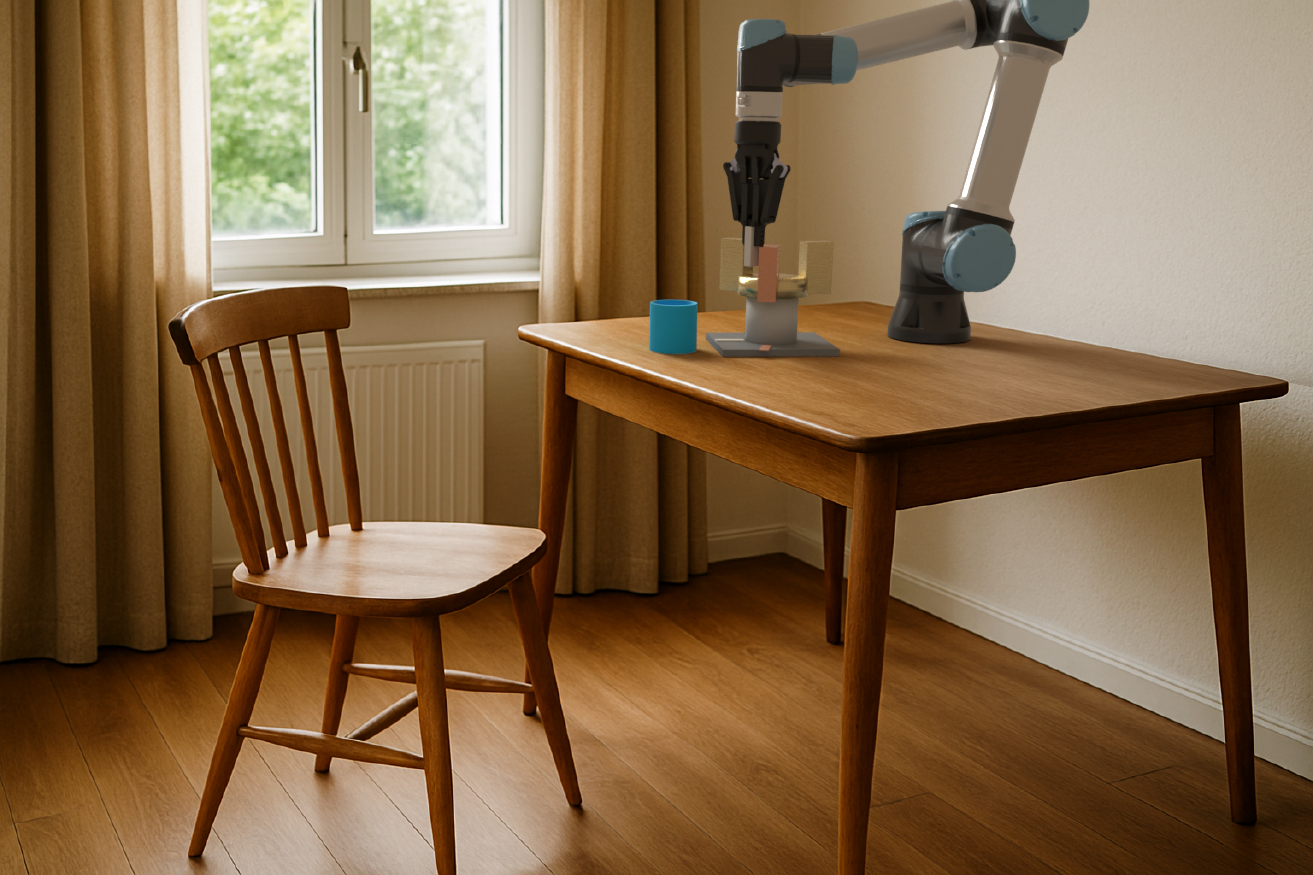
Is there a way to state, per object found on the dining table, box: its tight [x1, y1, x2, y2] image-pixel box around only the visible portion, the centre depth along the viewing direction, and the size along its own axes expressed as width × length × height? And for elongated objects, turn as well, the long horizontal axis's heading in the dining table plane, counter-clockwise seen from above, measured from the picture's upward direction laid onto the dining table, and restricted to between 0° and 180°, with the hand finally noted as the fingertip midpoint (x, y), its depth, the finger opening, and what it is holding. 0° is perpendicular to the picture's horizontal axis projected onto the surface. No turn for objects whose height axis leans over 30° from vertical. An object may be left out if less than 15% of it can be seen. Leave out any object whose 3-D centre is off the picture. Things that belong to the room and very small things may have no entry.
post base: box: [705, 297, 841, 358], centre depth 217 cm, size 20×20×9 cm
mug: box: [648, 299, 699, 355], centre depth 216 cm, size 12×8×8 cm
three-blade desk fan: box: [719, 237, 835, 303], centre depth 214 cm, size 17×20×9 cm
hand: (752, 265), depth 208 cm, fingers closed
